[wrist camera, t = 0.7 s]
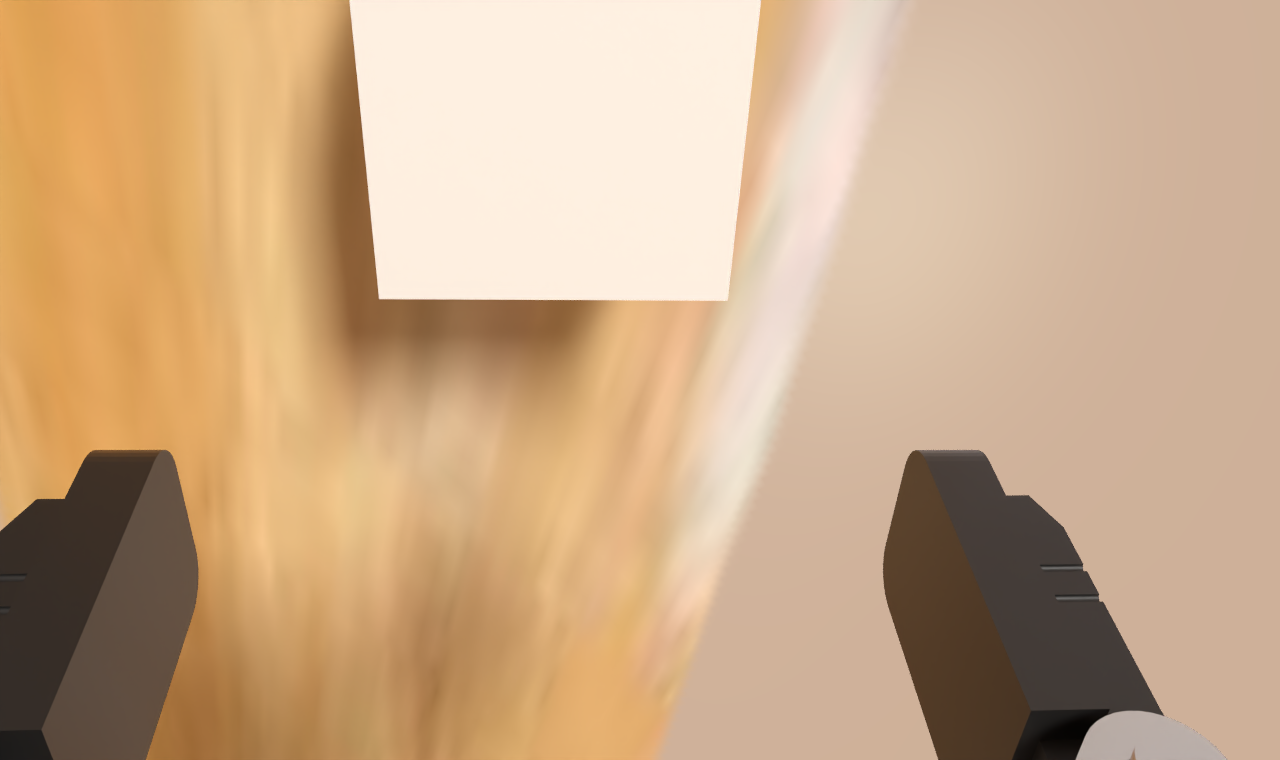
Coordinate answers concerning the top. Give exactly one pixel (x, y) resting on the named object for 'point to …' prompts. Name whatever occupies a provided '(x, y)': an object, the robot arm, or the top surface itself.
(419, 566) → the top surface
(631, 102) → the white block
